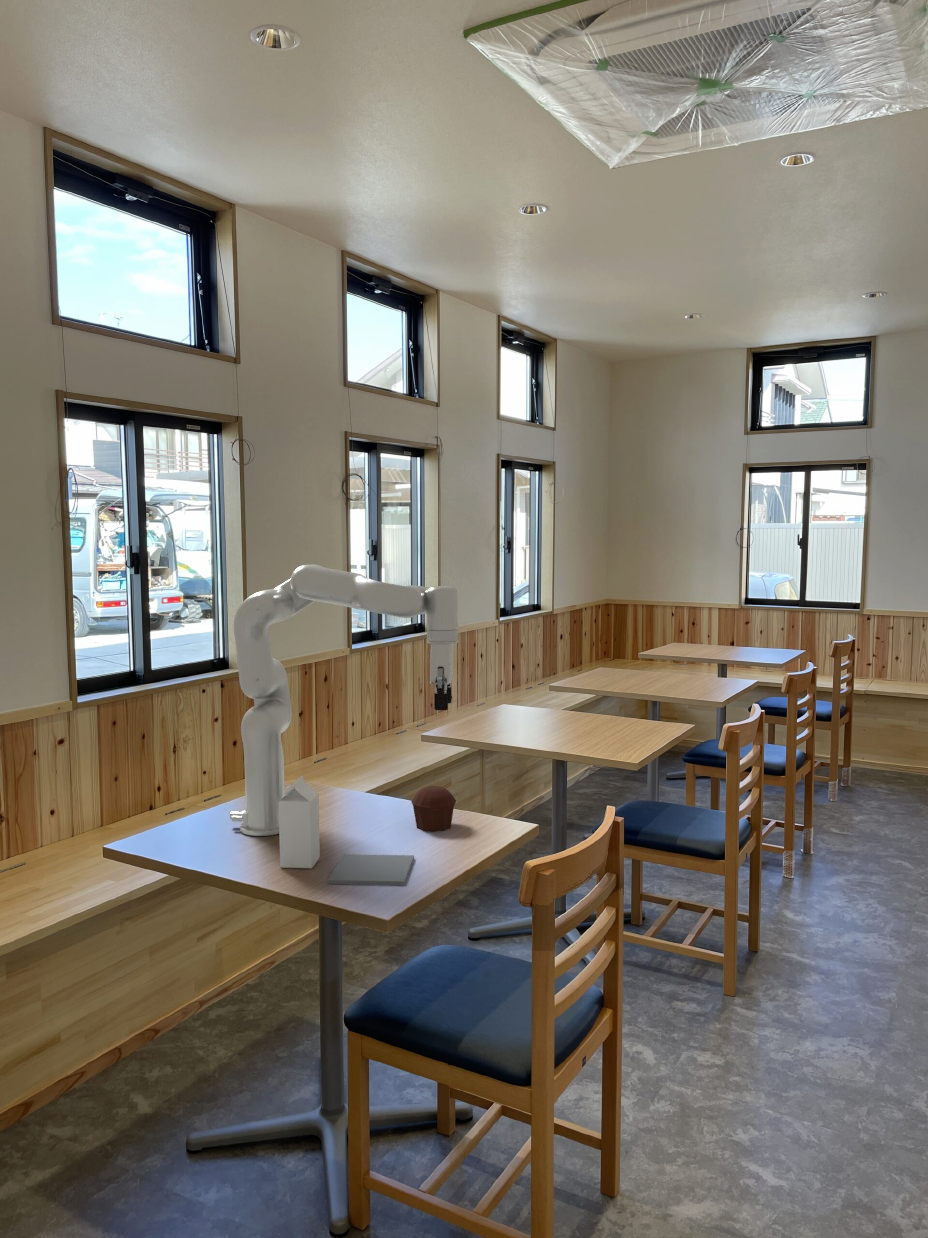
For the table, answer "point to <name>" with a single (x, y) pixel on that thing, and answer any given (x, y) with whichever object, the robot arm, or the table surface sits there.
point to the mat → (372, 869)
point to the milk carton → (299, 826)
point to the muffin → (433, 808)
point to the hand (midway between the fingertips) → (443, 706)
